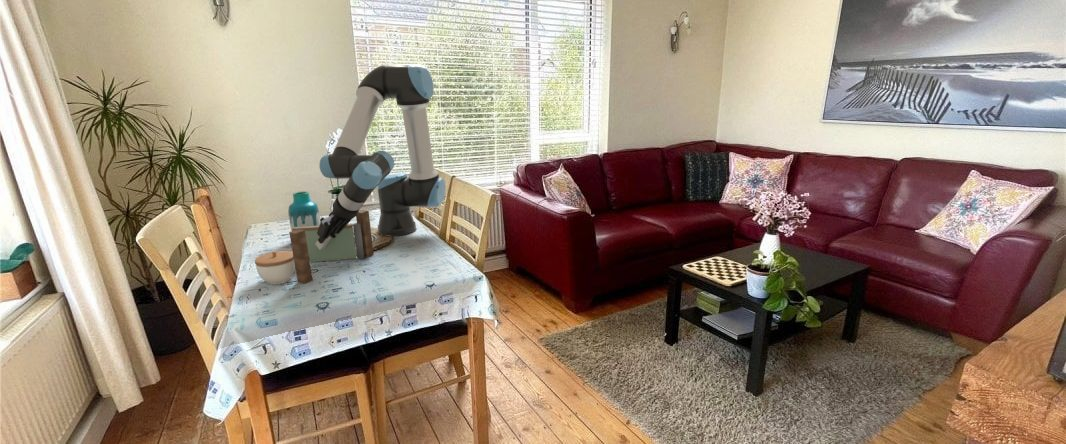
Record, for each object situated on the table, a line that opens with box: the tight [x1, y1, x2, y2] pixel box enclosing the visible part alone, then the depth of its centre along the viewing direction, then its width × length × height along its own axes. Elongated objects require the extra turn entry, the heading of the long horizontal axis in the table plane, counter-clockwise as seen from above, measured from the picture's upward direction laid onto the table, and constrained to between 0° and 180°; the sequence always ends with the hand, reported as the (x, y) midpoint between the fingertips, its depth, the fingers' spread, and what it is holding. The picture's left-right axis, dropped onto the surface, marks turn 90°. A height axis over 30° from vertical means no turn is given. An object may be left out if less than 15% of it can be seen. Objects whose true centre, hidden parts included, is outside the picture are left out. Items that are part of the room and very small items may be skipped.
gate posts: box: [288, 209, 375, 285], centre depth 149 cm, size 28×3×16 cm, turn 153°
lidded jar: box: [254, 250, 296, 286], centre depth 140 cm, size 11×11×9 cm
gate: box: [292, 222, 365, 263], centre depth 156 cm, size 21×2×12 cm, turn 101°
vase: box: [288, 190, 321, 232], centre depth 175 cm, size 11×11×19 cm
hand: (319, 246), depth 154 cm, fingers closed
